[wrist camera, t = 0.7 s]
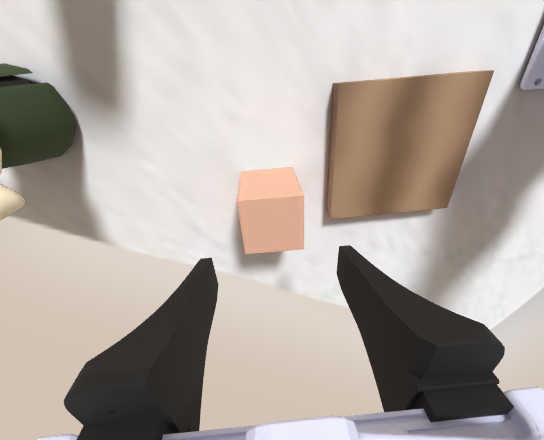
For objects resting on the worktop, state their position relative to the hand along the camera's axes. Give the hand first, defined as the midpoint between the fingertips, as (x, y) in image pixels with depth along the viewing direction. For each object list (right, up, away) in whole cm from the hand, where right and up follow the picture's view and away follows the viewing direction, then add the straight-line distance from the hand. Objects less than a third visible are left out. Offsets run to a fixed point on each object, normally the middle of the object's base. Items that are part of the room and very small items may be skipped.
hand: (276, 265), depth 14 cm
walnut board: (+10, +9, +8) cm, 16 cm away
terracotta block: (-1, +5, +9) cm, 10 cm away
